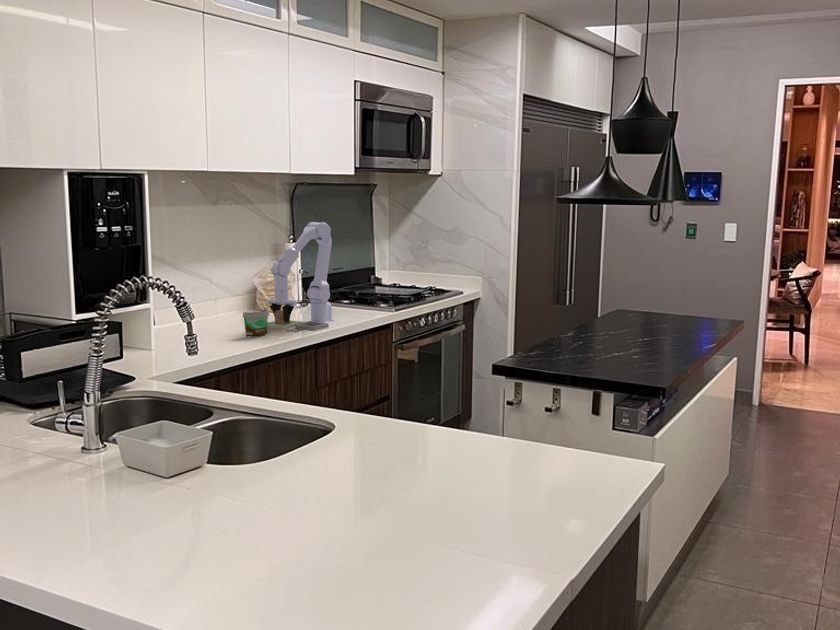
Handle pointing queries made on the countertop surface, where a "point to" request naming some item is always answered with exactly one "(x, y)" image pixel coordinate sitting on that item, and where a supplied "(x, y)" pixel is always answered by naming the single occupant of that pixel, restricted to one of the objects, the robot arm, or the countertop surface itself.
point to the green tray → (292, 324)
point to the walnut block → (280, 318)
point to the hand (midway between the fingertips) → (282, 321)
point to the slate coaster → (294, 330)
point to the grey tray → (312, 326)
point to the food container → (256, 323)
